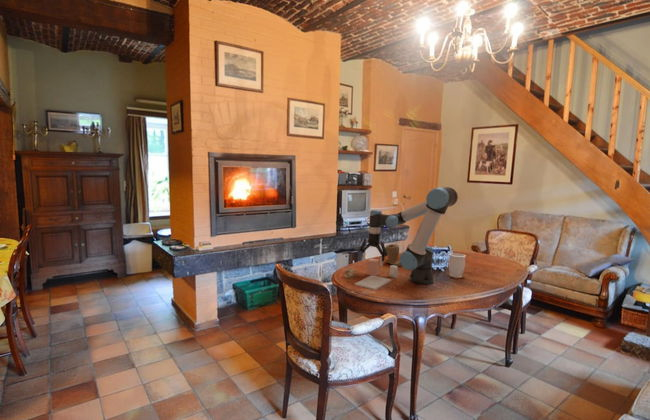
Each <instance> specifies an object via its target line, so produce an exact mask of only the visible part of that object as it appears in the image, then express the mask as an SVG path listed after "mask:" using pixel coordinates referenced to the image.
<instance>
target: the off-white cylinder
mask: <svg viewBox="0 0 650 420" xmlns="http://www.w3.org/2000/svg"><path fill="white" fill-rule="evenodd" d="M398 267H399V266H397V265H393V264H390V265H389V278H393V279H394V278H395V279H396V278H398Z"/></svg>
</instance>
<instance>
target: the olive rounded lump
mask: <svg viewBox="0 0 650 420" xmlns="http://www.w3.org/2000/svg"><path fill="white" fill-rule="evenodd" d="M343 276H344V278H347V279H354V278H355V277H356V269H355V268H349V267H348V268H345V269H344V275H343Z"/></svg>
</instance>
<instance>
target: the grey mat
mask: <svg viewBox="0 0 650 420" xmlns="http://www.w3.org/2000/svg"><path fill="white" fill-rule="evenodd" d="M391 281H392V279H391V278H386V277H383V276H378V275H376V276H373V275H368V276H367V277H365V278H363V279H362V280H358V281H357V282H355V283H354V286H357V287H362V288H365V289H369V290H373V291H377V290H378V289H380V288H381V287H383V286H385V285H388V283H390V282H391Z"/></svg>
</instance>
